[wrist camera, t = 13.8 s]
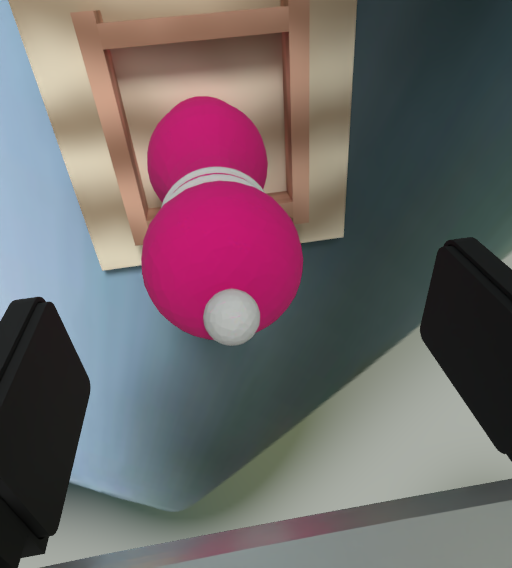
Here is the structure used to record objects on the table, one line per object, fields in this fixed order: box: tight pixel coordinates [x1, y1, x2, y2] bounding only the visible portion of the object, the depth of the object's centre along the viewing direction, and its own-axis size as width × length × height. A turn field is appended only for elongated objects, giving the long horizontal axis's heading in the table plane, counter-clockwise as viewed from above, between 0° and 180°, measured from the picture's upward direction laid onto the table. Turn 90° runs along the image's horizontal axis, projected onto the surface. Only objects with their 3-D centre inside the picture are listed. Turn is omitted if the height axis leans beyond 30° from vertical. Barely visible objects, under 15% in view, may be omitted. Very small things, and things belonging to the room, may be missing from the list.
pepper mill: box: [141, 96, 303, 346], centre depth 20 cm, size 7×7×20 cm
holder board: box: [8, 0, 357, 271], centre depth 27 cm, size 20×20×3 cm
